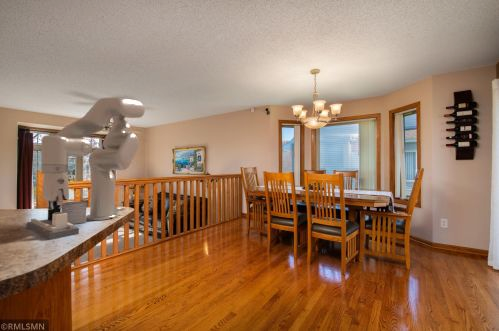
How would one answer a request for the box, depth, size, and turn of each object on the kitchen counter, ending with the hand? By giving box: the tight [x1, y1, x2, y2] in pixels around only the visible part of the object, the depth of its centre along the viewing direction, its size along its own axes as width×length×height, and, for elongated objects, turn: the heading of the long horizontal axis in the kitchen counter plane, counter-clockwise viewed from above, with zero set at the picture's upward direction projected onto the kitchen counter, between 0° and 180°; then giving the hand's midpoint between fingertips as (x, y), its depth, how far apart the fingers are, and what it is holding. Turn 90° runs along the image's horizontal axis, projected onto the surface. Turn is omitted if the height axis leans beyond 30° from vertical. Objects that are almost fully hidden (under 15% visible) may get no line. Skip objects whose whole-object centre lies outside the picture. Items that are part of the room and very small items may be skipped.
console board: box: [25, 218, 80, 240], centre depth 84 cm, size 8×24×3 cm, turn 58°
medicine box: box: [61, 201, 87, 225], centre depth 94 cm, size 8×4×9 cm, turn 135°
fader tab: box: [52, 211, 67, 230], centre depth 80 cm, size 3×3×6 cm
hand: (54, 219), depth 83 cm, fingers closed
